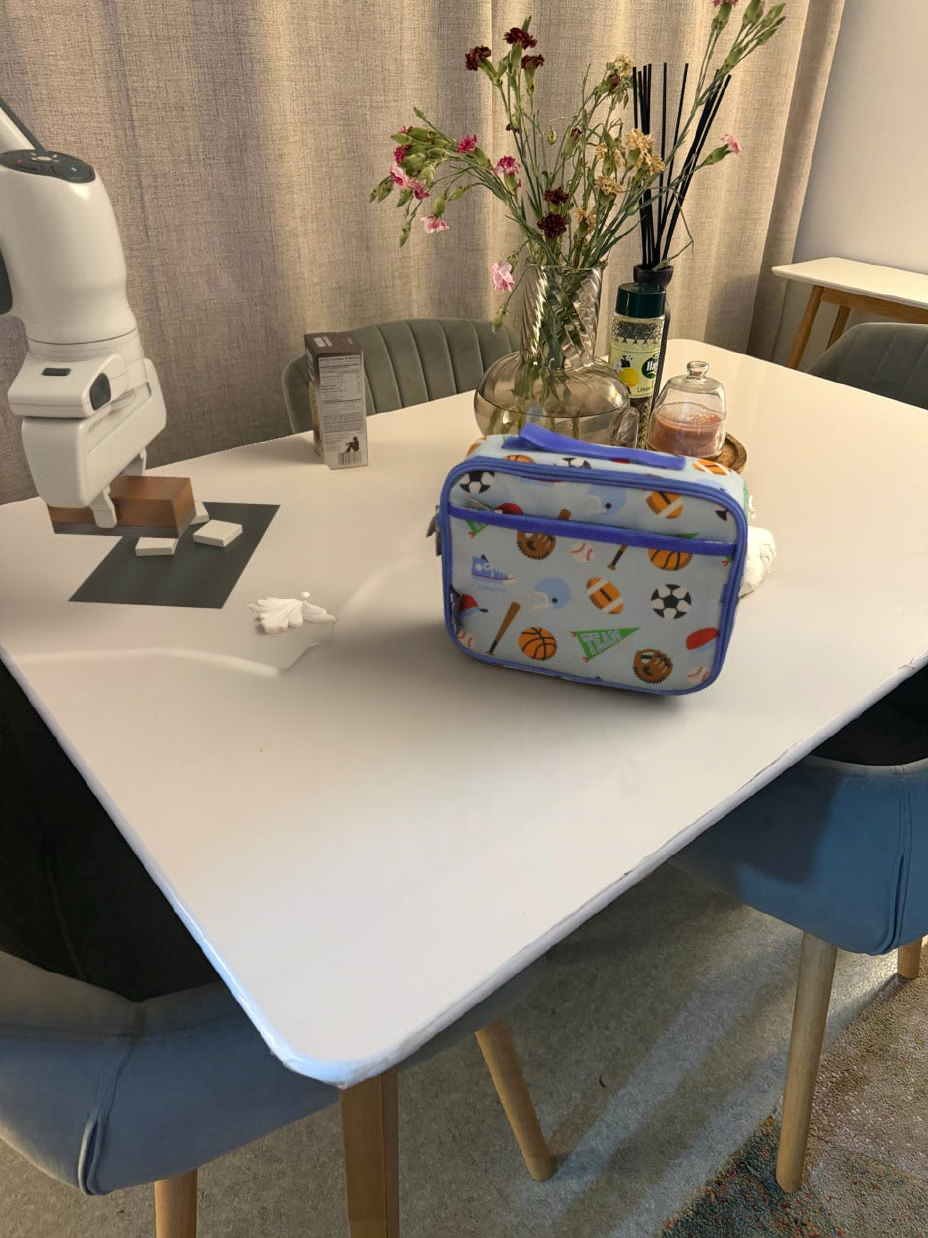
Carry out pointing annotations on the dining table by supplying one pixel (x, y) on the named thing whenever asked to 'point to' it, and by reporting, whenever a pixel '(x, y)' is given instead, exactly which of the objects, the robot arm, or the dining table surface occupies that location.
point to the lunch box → (592, 560)
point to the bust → (757, 554)
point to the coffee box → (337, 398)
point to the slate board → (180, 565)
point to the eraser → (135, 509)
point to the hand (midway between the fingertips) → (123, 509)
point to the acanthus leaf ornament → (288, 613)
